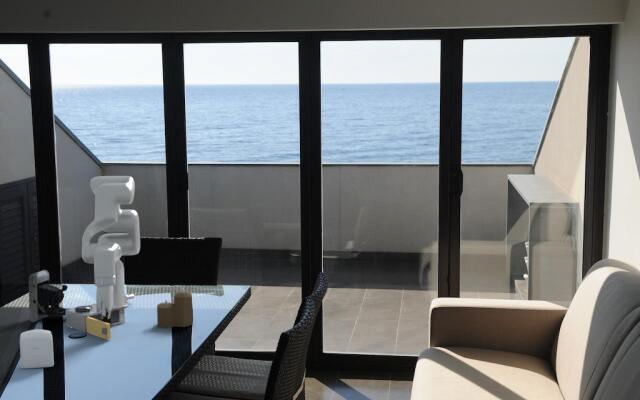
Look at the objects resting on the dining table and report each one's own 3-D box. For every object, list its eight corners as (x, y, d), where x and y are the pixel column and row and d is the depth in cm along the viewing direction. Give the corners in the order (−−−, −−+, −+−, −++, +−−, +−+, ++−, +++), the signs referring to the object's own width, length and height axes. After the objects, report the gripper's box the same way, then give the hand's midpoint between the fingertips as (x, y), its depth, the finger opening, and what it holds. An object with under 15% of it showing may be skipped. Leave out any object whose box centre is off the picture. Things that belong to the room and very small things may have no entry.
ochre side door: (111, 339, 289) (110, 322, 289) (105, 341, 288) (104, 323, 287) (87, 331, 301) (87, 314, 300) (82, 332, 299) (81, 315, 298)
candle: (200, 321, 316) (199, 284, 315) (184, 329, 304) (183, 291, 302) (170, 318, 321) (169, 282, 319) (153, 326, 308) (152, 289, 306)
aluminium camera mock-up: (105, 317, 322) (104, 298, 321) (124, 322, 314) (124, 303, 313) (66, 326, 309) (65, 307, 308) (85, 332, 300) (85, 312, 299)
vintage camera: (63, 325, 312) (64, 275, 310) (28, 322, 315) (28, 272, 313) (76, 319, 321) (76, 271, 319) (41, 316, 324) (41, 268, 322)
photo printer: (19, 369, 256) (18, 332, 255) (22, 365, 261) (20, 329, 259) (52, 367, 258) (51, 331, 257) (54, 363, 262) (53, 327, 261)
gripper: (98, 275, 299) (100, 322, 302) (90, 285, 285) (92, 334, 287) (118, 275, 300) (120, 322, 303) (112, 285, 285) (113, 334, 288)
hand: (106, 328), depth 295 cm, fingers closed
